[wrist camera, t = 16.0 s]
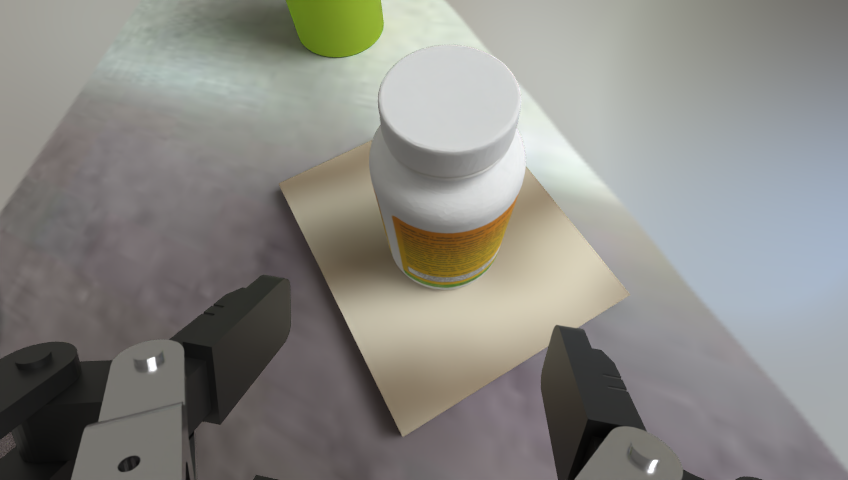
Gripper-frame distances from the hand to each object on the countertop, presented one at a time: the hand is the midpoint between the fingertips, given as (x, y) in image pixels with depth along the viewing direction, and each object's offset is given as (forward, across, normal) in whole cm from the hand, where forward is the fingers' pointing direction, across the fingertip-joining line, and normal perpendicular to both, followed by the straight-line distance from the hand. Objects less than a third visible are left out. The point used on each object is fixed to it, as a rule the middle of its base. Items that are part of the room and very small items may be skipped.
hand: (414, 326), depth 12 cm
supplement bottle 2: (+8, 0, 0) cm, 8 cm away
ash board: (+9, 0, +1) cm, 9 cm away
